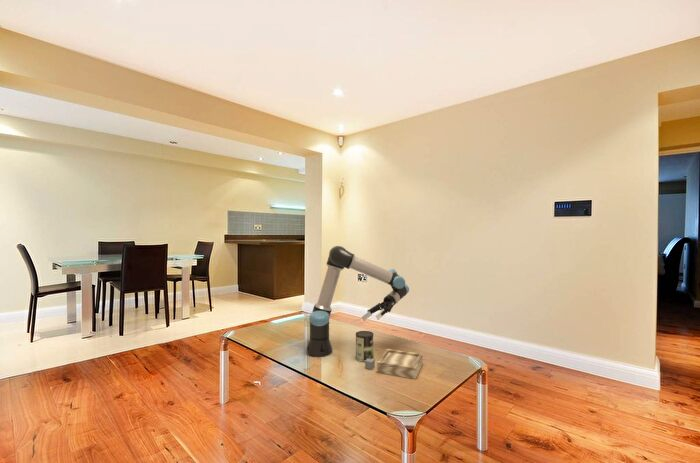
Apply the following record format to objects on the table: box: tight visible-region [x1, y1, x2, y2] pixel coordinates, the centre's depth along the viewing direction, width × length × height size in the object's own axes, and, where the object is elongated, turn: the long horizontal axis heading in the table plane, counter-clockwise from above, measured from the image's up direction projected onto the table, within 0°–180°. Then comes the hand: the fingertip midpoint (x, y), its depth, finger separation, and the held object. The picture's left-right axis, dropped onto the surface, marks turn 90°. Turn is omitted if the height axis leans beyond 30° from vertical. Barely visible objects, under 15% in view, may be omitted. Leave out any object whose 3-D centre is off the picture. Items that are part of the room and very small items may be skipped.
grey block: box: [364, 358, 376, 370], centre depth 167 cm, size 4×4×4 cm
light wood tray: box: [376, 348, 423, 380], centre depth 167 cm, size 20×20×5 cm
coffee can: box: [355, 330, 374, 362], centre depth 180 cm, size 10×10×14 cm
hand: (370, 318), depth 188 cm, fingers open, 13 cm apart
